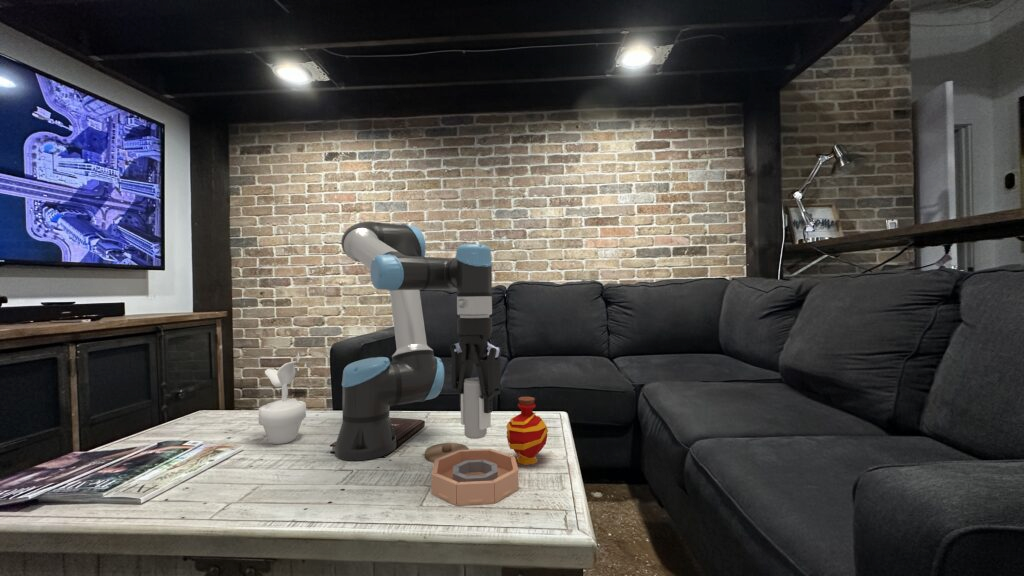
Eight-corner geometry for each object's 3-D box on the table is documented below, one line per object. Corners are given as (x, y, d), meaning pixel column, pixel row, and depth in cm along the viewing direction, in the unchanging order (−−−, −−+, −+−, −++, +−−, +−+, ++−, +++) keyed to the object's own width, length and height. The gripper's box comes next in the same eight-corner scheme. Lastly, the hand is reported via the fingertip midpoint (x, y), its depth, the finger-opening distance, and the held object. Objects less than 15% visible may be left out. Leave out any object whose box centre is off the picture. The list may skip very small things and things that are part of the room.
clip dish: (414, 486, 88) (414, 467, 88) (474, 459, 102) (474, 443, 102) (475, 515, 76) (475, 493, 76) (534, 480, 90) (533, 462, 90)
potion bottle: (545, 470, 95) (545, 405, 96) (501, 467, 97) (501, 403, 98) (550, 453, 106) (550, 394, 106) (510, 450, 108) (510, 392, 108)
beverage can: (469, 441, 86) (468, 382, 86) (460, 434, 90) (460, 378, 90) (490, 437, 88) (489, 380, 88) (481, 430, 92) (480, 376, 92)
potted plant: (314, 438, 118) (314, 349, 118) (272, 451, 108) (272, 355, 108) (289, 430, 125) (290, 347, 125) (248, 442, 115) (248, 351, 115)
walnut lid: (415, 457, 105) (415, 446, 105) (448, 445, 113) (448, 435, 113) (444, 469, 98) (444, 457, 98) (477, 454, 106) (477, 444, 106)
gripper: (434, 316, 92) (434, 422, 92) (493, 318, 81) (495, 438, 80) (458, 315, 98) (459, 414, 98) (517, 316, 87) (519, 429, 86)
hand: (475, 425), depth 89 cm, fingers closed on beverage can, 5 cm apart
